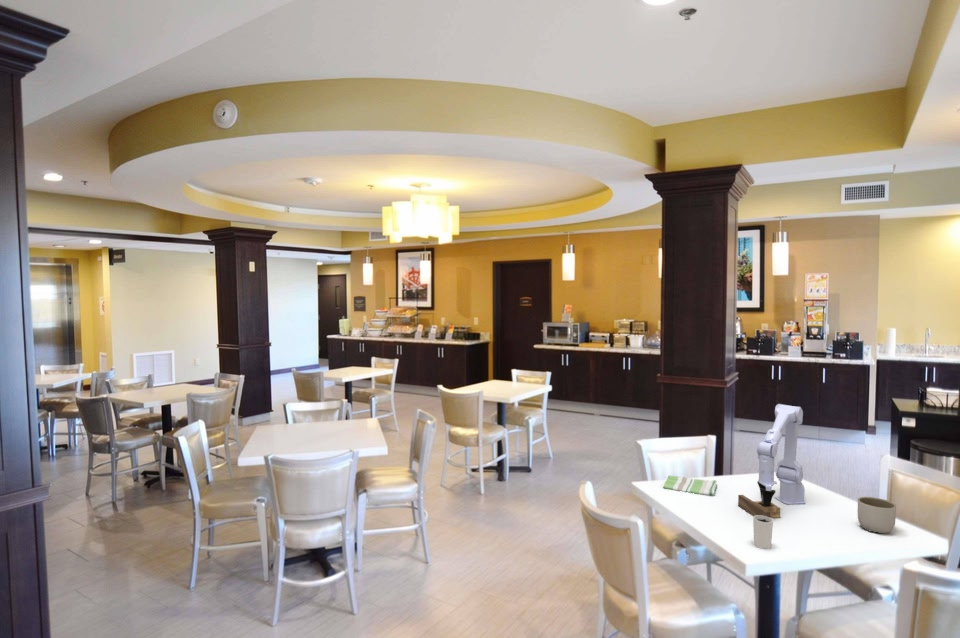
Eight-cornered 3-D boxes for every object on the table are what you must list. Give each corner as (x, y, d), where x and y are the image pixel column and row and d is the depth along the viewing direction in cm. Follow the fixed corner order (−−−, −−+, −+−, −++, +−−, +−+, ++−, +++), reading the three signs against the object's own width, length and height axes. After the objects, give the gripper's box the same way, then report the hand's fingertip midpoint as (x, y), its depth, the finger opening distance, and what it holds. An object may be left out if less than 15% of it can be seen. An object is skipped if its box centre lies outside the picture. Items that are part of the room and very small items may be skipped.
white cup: (750, 540, 212) (751, 514, 211) (770, 542, 210) (771, 516, 210) (754, 547, 206) (754, 521, 205) (774, 550, 204) (775, 523, 203)
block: (768, 510, 242) (768, 500, 242) (780, 517, 234) (780, 507, 234) (750, 510, 241) (751, 501, 241) (762, 517, 233) (762, 508, 233)
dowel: (763, 509, 239) (764, 491, 239) (770, 512, 237) (771, 493, 237) (759, 511, 238) (760, 492, 238) (766, 513, 235) (767, 494, 235)
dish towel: (714, 498, 258) (714, 490, 258) (662, 489, 268) (662, 482, 268) (717, 487, 273) (717, 479, 273) (668, 479, 284) (668, 472, 284)
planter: (875, 536, 216) (876, 509, 215) (849, 524, 228) (850, 497, 228) (903, 535, 218) (904, 507, 217) (876, 522, 230) (877, 496, 230)
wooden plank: (742, 505, 247) (742, 494, 247) (770, 524, 227) (770, 512, 227) (738, 506, 247) (738, 494, 247) (765, 524, 227) (765, 512, 227)
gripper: (780, 476, 228) (779, 509, 229) (774, 466, 242) (773, 497, 243) (760, 474, 231) (760, 507, 231) (756, 465, 244) (755, 495, 245)
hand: (765, 502), depth 237 cm, fingers open, 7 cm apart
